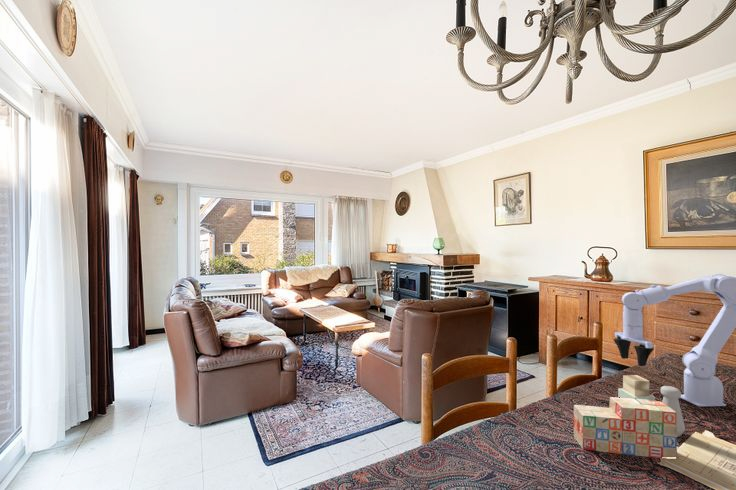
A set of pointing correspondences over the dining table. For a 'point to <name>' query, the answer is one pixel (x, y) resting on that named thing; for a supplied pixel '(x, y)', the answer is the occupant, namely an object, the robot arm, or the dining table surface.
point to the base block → (625, 394)
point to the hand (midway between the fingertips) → (633, 361)
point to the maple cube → (636, 385)
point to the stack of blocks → (628, 428)
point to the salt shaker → (674, 405)
